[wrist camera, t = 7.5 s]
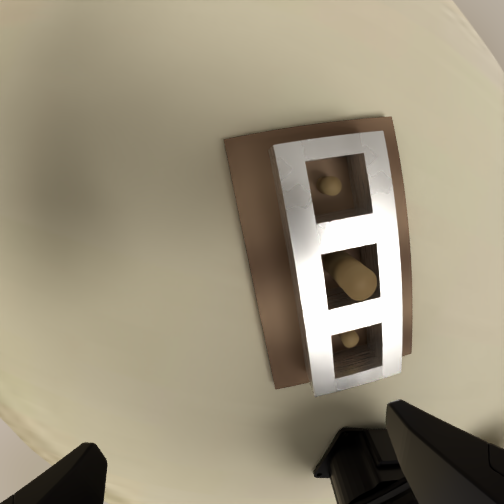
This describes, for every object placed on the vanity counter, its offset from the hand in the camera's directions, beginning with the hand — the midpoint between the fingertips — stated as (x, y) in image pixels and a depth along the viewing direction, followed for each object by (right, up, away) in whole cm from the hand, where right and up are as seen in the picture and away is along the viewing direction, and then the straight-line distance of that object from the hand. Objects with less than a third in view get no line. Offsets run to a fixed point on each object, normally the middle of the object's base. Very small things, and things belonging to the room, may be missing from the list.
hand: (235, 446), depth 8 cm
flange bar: (+5, +5, +11) cm, 13 cm away
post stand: (+5, +5, +11) cm, 14 cm away
